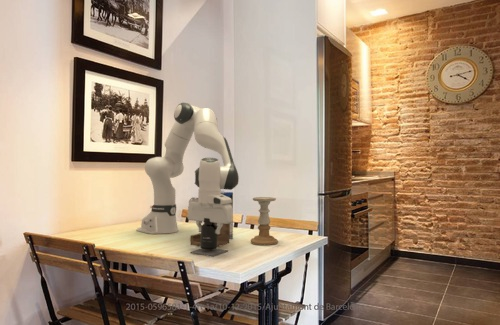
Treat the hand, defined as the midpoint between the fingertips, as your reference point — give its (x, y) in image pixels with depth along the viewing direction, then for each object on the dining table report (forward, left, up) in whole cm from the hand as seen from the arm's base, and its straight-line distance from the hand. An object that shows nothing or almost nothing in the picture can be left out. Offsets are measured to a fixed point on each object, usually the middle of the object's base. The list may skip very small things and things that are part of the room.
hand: (209, 233), depth 144 cm
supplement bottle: (0, 0, -6) cm, 6 cm away
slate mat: (0, 0, -8) cm, 8 cm away
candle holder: (+10, +28, -8) cm, 31 cm away
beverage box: (-13, +26, -8) cm, 30 cm away
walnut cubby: (-9, +13, -8) cm, 17 cm away
